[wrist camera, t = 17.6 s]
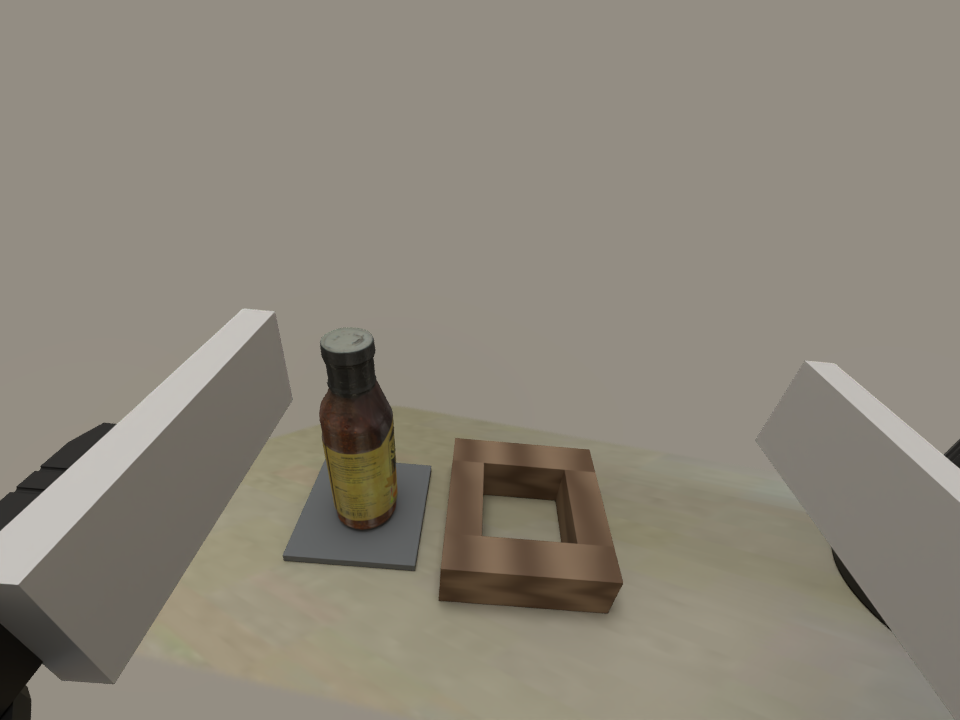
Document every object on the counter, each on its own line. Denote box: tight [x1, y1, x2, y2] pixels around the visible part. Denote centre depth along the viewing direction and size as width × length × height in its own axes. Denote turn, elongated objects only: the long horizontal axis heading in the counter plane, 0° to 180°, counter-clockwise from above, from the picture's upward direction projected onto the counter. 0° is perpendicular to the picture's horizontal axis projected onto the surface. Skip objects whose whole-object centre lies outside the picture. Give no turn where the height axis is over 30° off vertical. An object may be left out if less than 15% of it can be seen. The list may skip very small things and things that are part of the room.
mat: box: [283, 459, 431, 571], centre depth 44 cm, size 12×12×1 cm
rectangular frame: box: [439, 438, 623, 613], centre depth 42 cm, size 15×15×5 cm
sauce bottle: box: [319, 328, 398, 530], centre depth 38 cm, size 7×6×20 cm
